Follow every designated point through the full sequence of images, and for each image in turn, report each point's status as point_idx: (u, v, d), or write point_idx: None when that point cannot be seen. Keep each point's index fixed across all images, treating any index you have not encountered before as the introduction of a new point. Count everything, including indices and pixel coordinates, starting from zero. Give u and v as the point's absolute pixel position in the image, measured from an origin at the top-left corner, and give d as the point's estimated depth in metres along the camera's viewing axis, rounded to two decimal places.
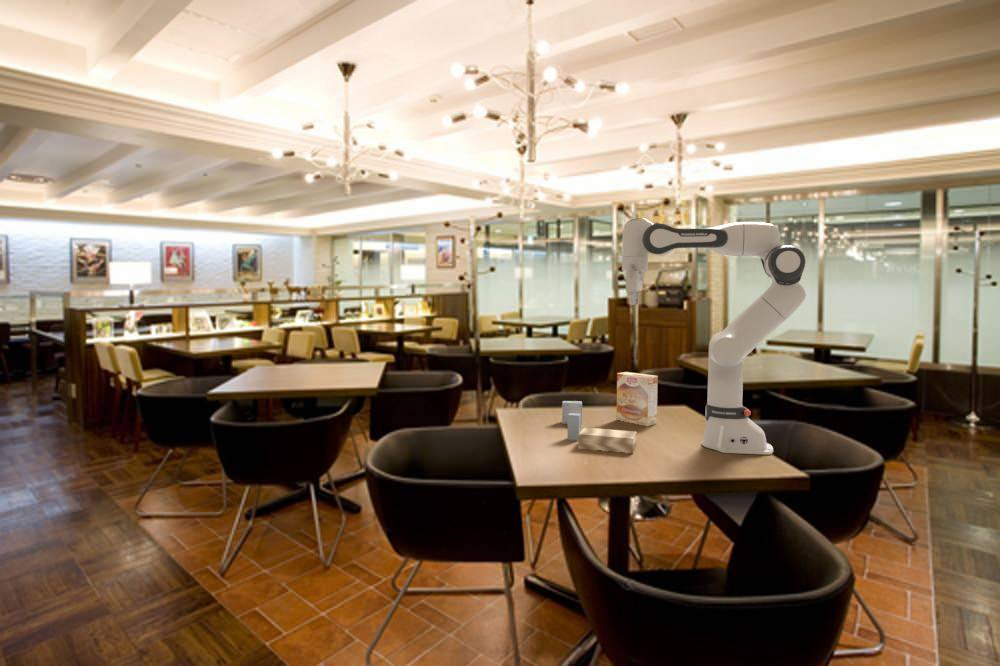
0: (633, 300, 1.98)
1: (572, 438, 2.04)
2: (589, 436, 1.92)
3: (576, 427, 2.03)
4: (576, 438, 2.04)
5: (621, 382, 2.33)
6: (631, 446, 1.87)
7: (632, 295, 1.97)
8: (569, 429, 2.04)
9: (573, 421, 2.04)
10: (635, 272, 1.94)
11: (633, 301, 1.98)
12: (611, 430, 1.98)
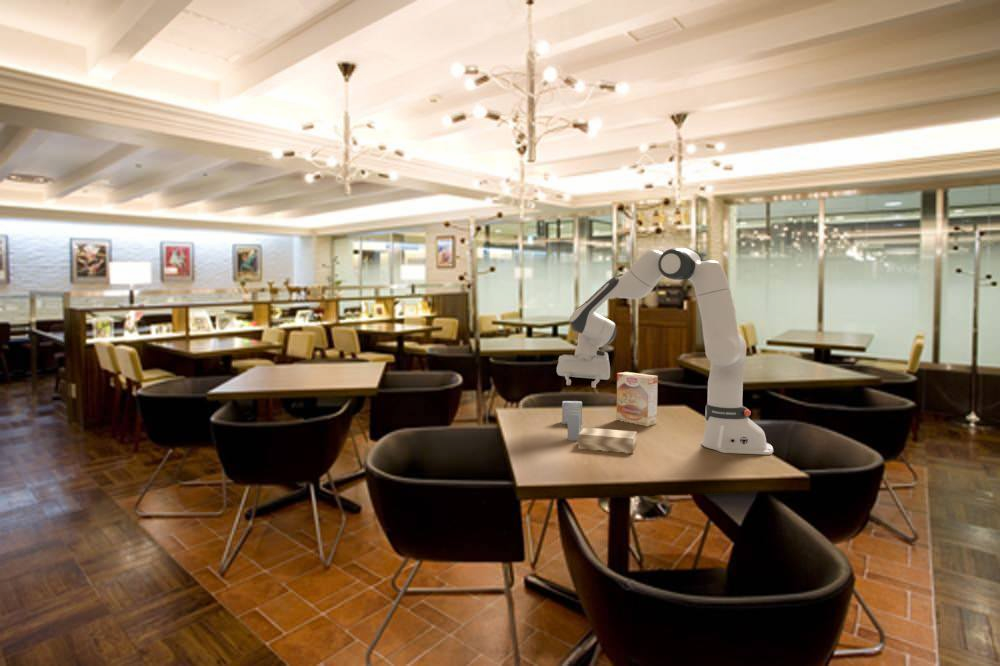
0: (566, 380, 2.18)
1: (572, 438, 2.04)
2: (589, 436, 1.92)
3: (576, 427, 2.03)
4: (576, 438, 2.04)
5: (621, 382, 2.33)
6: (631, 446, 1.87)
7: (565, 376, 2.19)
8: (569, 429, 2.04)
9: (573, 421, 2.04)
10: None
11: (566, 380, 2.18)
12: (611, 430, 1.98)
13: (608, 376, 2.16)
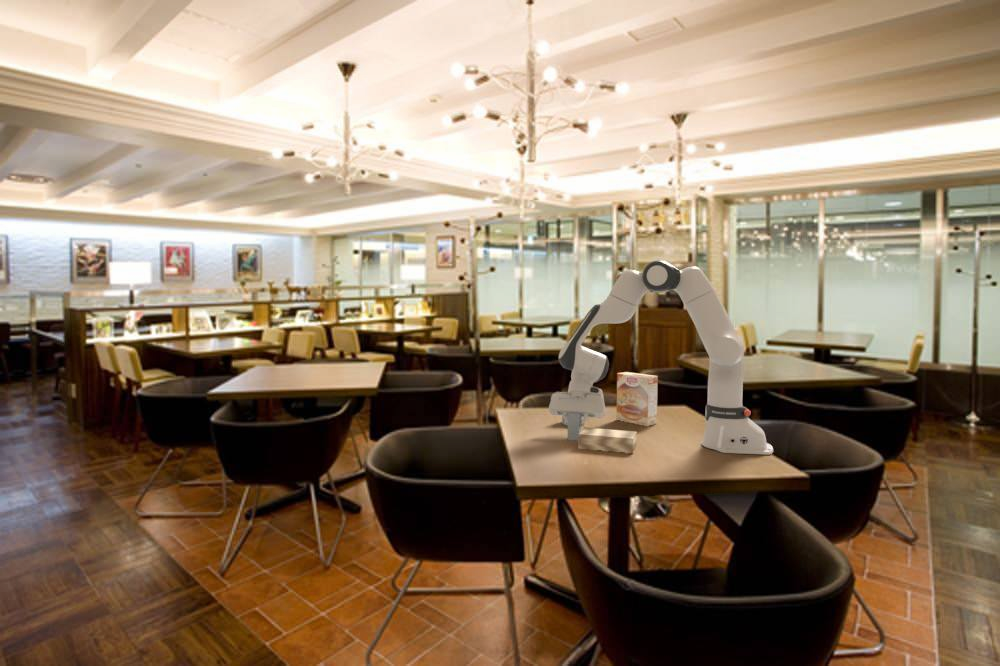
0: None
1: (572, 438, 2.04)
2: (589, 436, 1.92)
3: (576, 427, 2.03)
4: (576, 438, 2.04)
5: (621, 382, 2.33)
6: (631, 446, 1.87)
7: (563, 416, 2.08)
8: (569, 429, 2.04)
9: (573, 421, 2.04)
10: None
11: None
12: (611, 430, 1.98)
13: (603, 414, 2.05)
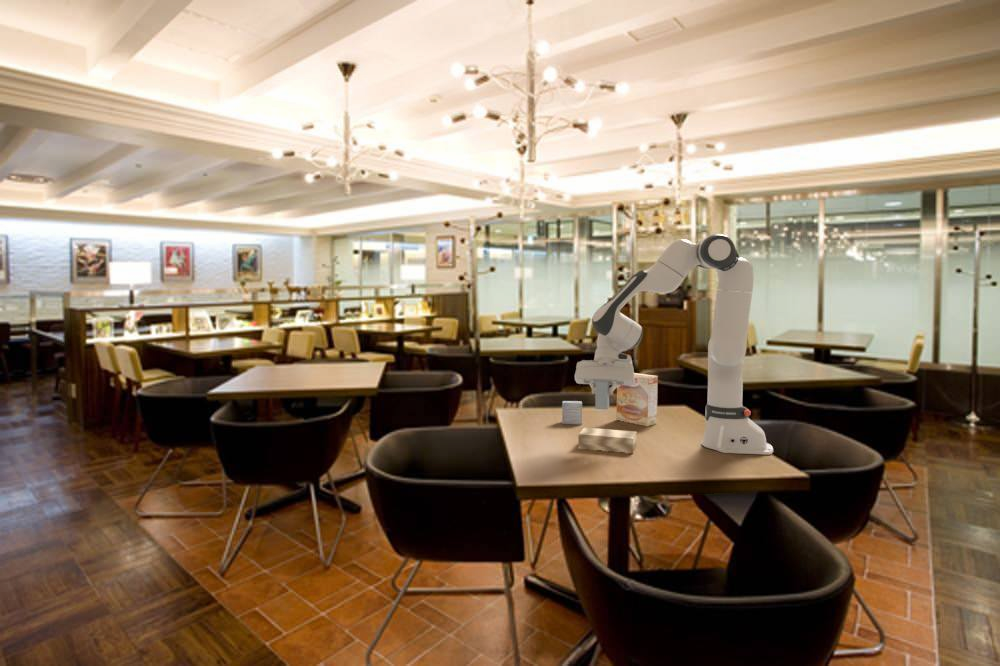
0: (592, 388, 1.95)
1: (600, 407, 1.92)
2: (589, 436, 1.92)
3: (604, 394, 1.92)
4: (605, 407, 1.92)
5: None
6: (631, 446, 1.87)
7: (590, 384, 1.97)
8: (597, 397, 1.93)
9: (601, 389, 1.92)
10: None
11: None
12: (611, 430, 1.98)
13: (632, 381, 1.93)
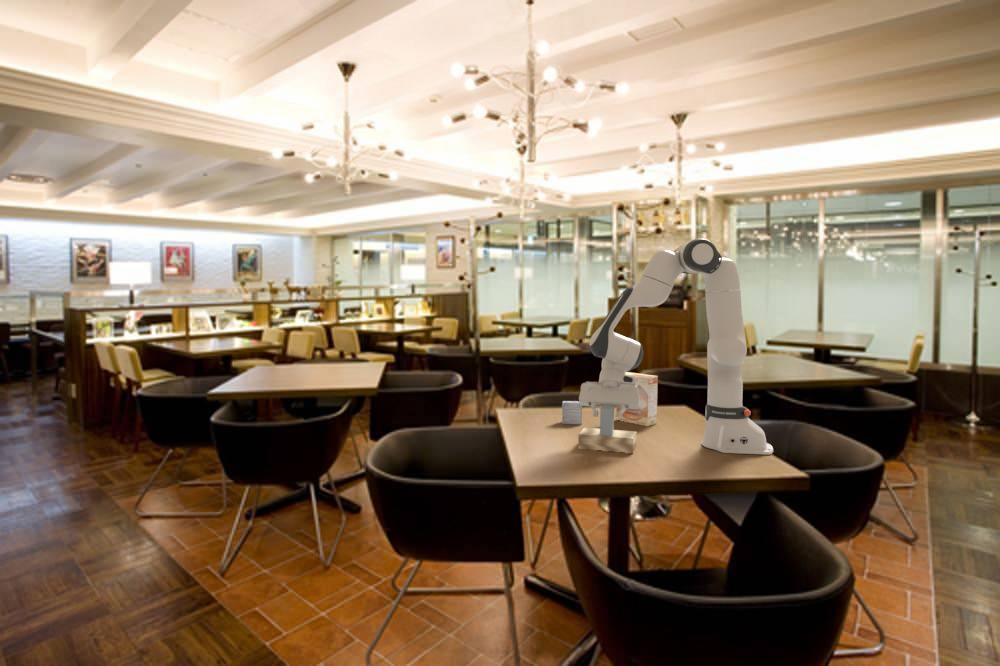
0: (593, 411, 1.93)
1: (605, 433, 1.91)
2: (589, 436, 1.92)
3: (609, 421, 1.90)
4: (609, 433, 1.90)
5: None
6: (631, 446, 1.87)
7: None
8: (602, 424, 1.91)
9: (606, 415, 1.90)
10: None
11: None
12: None
13: (637, 405, 1.91)
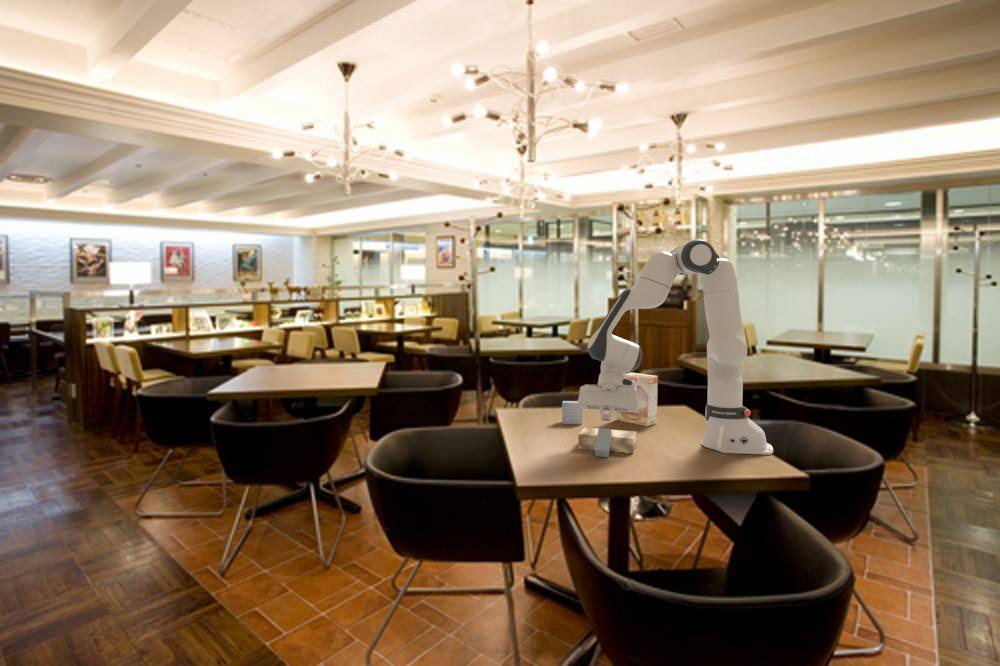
0: (601, 415, 1.91)
1: None
2: (589, 436, 1.92)
3: None
4: None
5: None
6: (631, 446, 1.87)
7: (599, 410, 1.92)
8: None
9: None
10: None
11: None
12: (611, 430, 1.98)
13: (637, 408, 1.89)
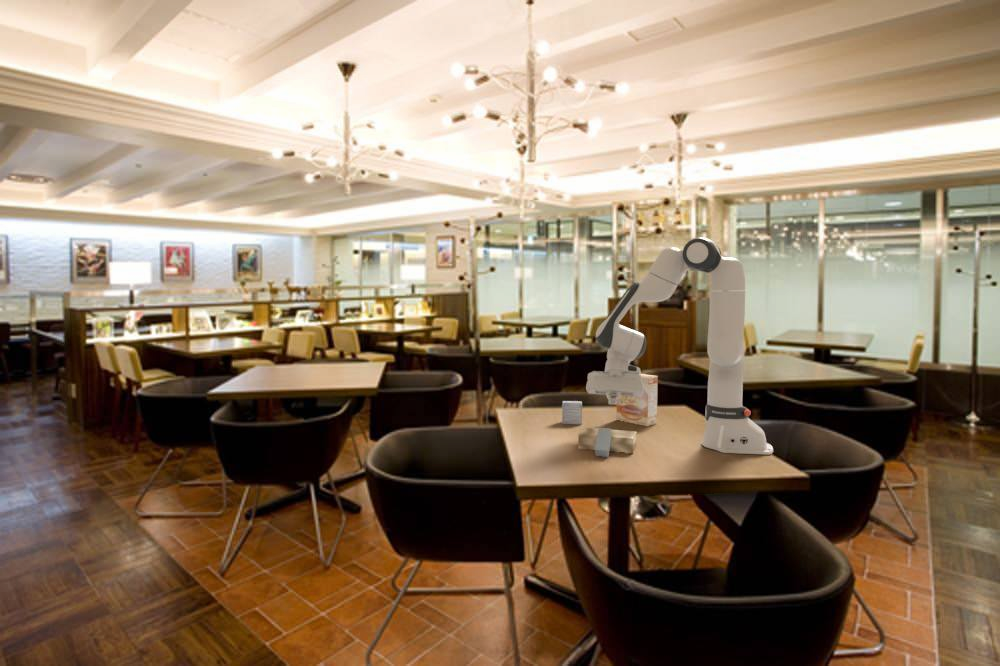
0: (608, 399, 2.04)
1: None
2: (589, 436, 1.92)
3: None
4: None
5: None
6: (631, 446, 1.87)
7: None
8: None
9: None
10: None
11: (608, 399, 2.04)
12: (611, 430, 1.98)
13: (641, 393, 2.03)
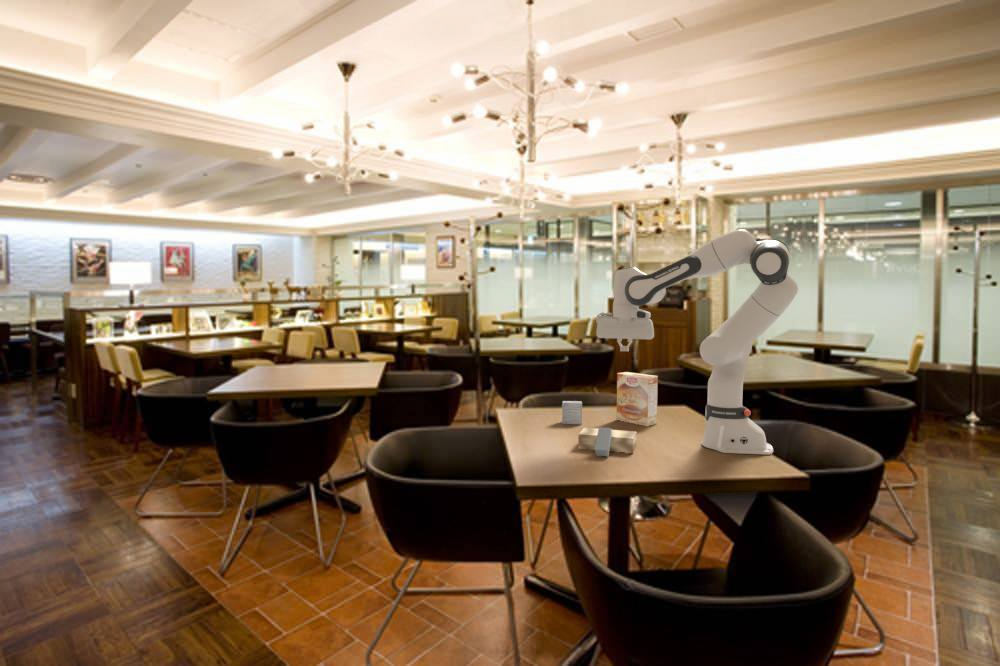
0: (620, 346, 2.08)
1: None
2: (589, 436, 1.92)
3: None
4: None
5: (621, 382, 2.33)
6: (631, 446, 1.87)
7: (618, 342, 2.08)
8: None
9: None
10: (599, 320, 2.09)
11: (620, 347, 2.08)
12: (611, 430, 1.98)
13: None
